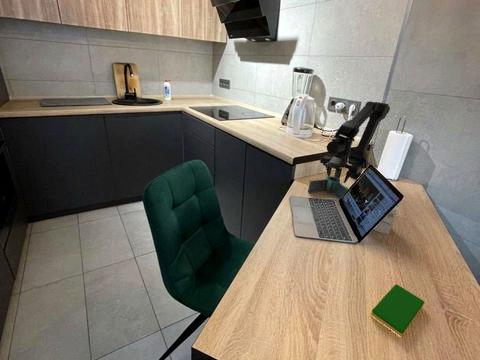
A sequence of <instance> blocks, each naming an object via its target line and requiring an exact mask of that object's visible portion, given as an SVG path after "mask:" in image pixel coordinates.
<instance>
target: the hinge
mask: <svg viewBox="0 0 480 360" xmlns="http://www.w3.org/2000/svg"><path fill="white" fill-rule="evenodd" d="M348 190H350V189H349V188H347V186H344V185H343V184H342V183H341V178H340V179H339V178H337V177H334V175H330V176H328V175H326V177H325V178H324V179H323V178H322V179H311V180H309V183H308V189H307V193H309V194H311V193H317V192H318V193H321V192H326V193H328V194H334V195H335V196H336V197H337V198H339V199H340V198H341V197H342V196H343V195H344V194H345V193H346V192H347V191H348Z"/></svg>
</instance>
